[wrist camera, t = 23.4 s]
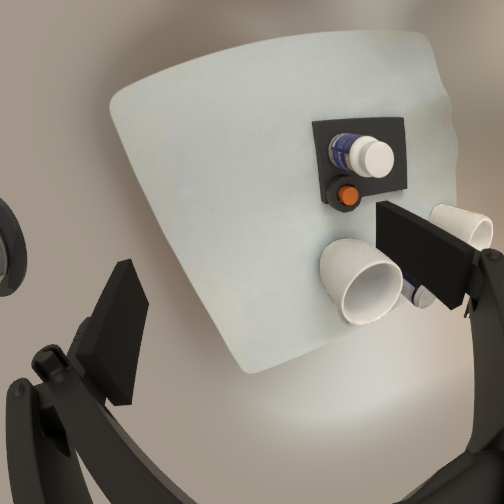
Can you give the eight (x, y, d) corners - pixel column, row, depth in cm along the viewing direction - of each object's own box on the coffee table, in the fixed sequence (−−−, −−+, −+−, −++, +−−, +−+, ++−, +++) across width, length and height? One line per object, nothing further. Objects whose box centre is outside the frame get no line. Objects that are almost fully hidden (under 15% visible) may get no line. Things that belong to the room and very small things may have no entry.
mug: (355, 295, 54) (388, 335, 42) (305, 304, 52) (332, 350, 41) (366, 225, 48) (410, 256, 36) (310, 230, 46) (347, 265, 35)
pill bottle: (320, 153, 39) (353, 162, 30) (341, 125, 38) (378, 127, 29) (345, 176, 42) (381, 190, 33) (365, 148, 40) (404, 157, 31)
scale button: (338, 204, 42) (343, 206, 40) (337, 186, 40) (342, 188, 39) (354, 201, 42) (358, 203, 41) (353, 183, 41) (358, 186, 39)
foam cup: (427, 245, 53) (467, 272, 41) (420, 209, 49) (465, 233, 37) (453, 225, 52) (493, 247, 41) (448, 190, 48) (492, 209, 37)
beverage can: (396, 280, 55) (429, 311, 44) (378, 276, 53) (412, 309, 43) (407, 257, 53) (443, 285, 42) (389, 252, 51) (426, 281, 41)
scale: (322, 209, 45) (331, 215, 42) (311, 121, 39) (321, 121, 36) (401, 193, 46) (413, 198, 43) (397, 117, 40) (410, 117, 37)
